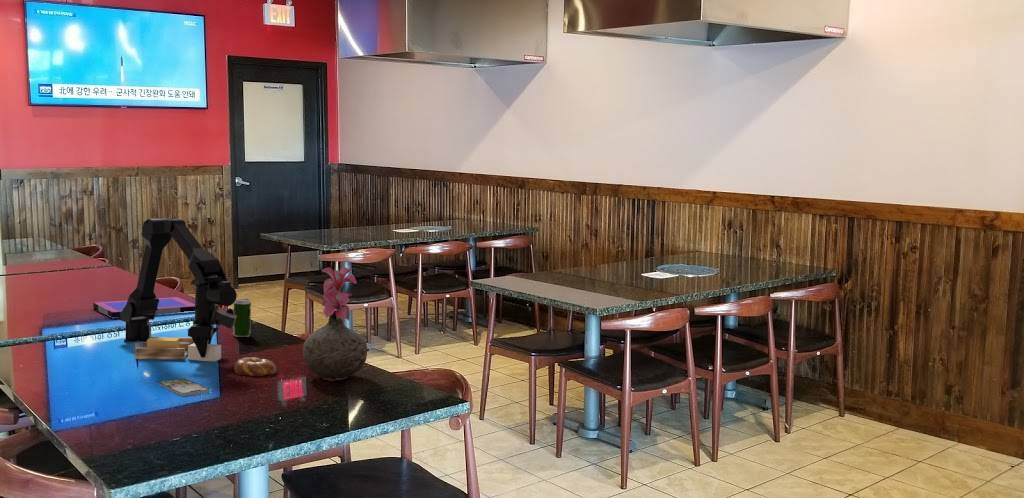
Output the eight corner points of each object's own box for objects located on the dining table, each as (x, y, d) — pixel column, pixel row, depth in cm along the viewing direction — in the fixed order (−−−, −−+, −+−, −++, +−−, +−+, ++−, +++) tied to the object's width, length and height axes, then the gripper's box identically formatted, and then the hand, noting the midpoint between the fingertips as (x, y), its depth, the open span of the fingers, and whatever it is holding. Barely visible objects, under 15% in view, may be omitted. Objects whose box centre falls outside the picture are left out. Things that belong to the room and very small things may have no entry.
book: (93, 302, 317) (176, 297, 336) (93, 310, 317) (176, 304, 337) (112, 312, 301) (198, 305, 321) (112, 320, 301) (198, 313, 321)
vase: (311, 388, 227) (314, 272, 224) (295, 372, 242) (297, 264, 239) (373, 383, 235) (377, 271, 232) (354, 368, 250) (357, 263, 247)
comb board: (135, 358, 248) (135, 348, 248) (149, 346, 264) (149, 336, 263) (183, 359, 250) (183, 349, 250) (194, 347, 266) (194, 337, 265)
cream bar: (187, 359, 250) (188, 345, 250) (194, 356, 254) (194, 342, 254) (214, 361, 249) (214, 347, 249) (220, 358, 253) (221, 344, 253)
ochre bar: (147, 354, 251) (147, 340, 250) (150, 351, 254) (150, 337, 254) (176, 354, 252) (176, 340, 251) (179, 351, 256) (179, 338, 255)
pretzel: (285, 371, 244) (286, 358, 243) (261, 380, 234) (261, 366, 233) (250, 365, 248) (250, 352, 248) (224, 373, 238) (224, 360, 238)
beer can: (235, 338, 281) (236, 301, 279) (231, 335, 285) (231, 298, 284) (252, 337, 284) (253, 300, 282) (247, 334, 288) (248, 298, 287)
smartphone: (184, 377, 229) (210, 388, 219) (184, 382, 229) (210, 393, 219) (156, 382, 224) (181, 393, 213) (156, 386, 224) (181, 397, 213)
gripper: (230, 307, 242) (229, 363, 244) (239, 296, 261) (238, 348, 262) (187, 306, 241) (186, 362, 242) (200, 296, 259) (199, 348, 260)
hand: (204, 355), depth 252 cm, fingers closed on cream bar, 5 cm apart
